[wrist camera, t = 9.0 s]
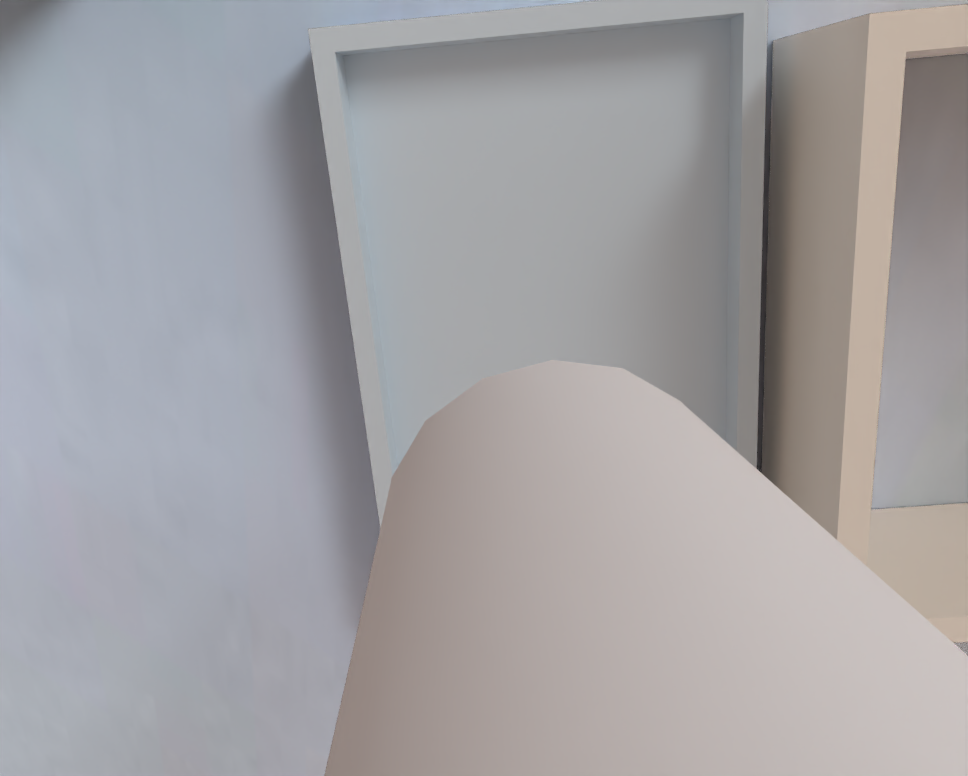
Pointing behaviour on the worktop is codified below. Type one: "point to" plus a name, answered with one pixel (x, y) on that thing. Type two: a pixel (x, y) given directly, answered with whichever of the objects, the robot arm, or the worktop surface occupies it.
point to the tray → (549, 202)
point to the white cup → (626, 607)
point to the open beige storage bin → (848, 295)
